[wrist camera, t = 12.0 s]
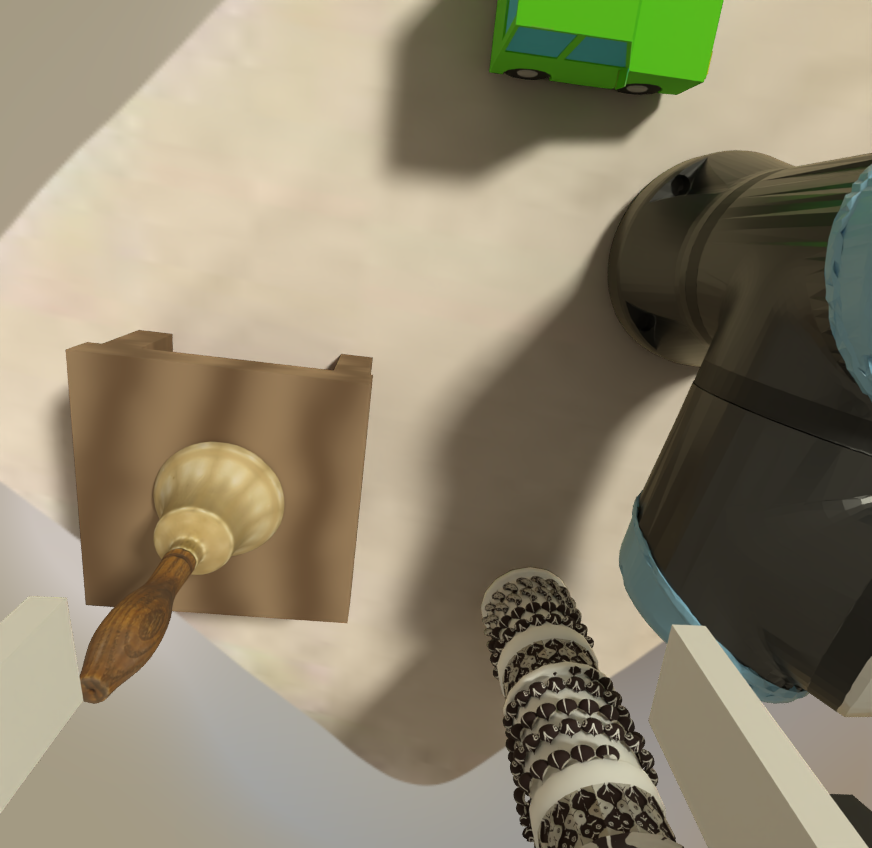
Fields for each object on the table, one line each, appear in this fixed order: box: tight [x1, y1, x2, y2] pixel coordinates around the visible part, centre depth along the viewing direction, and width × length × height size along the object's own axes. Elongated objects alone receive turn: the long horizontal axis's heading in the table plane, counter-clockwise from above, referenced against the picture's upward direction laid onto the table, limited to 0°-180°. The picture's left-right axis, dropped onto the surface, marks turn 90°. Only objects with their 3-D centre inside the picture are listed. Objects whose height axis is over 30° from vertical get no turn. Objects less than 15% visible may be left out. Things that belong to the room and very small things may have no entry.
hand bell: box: [79, 442, 285, 704], centre depth 29 cm, size 8×8×16 cm
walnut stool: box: [66, 330, 373, 623], centre depth 41 cm, size 18×18×9 cm
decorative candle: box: [481, 567, 684, 848], centre depth 40 cm, size 9×9×25 cm
